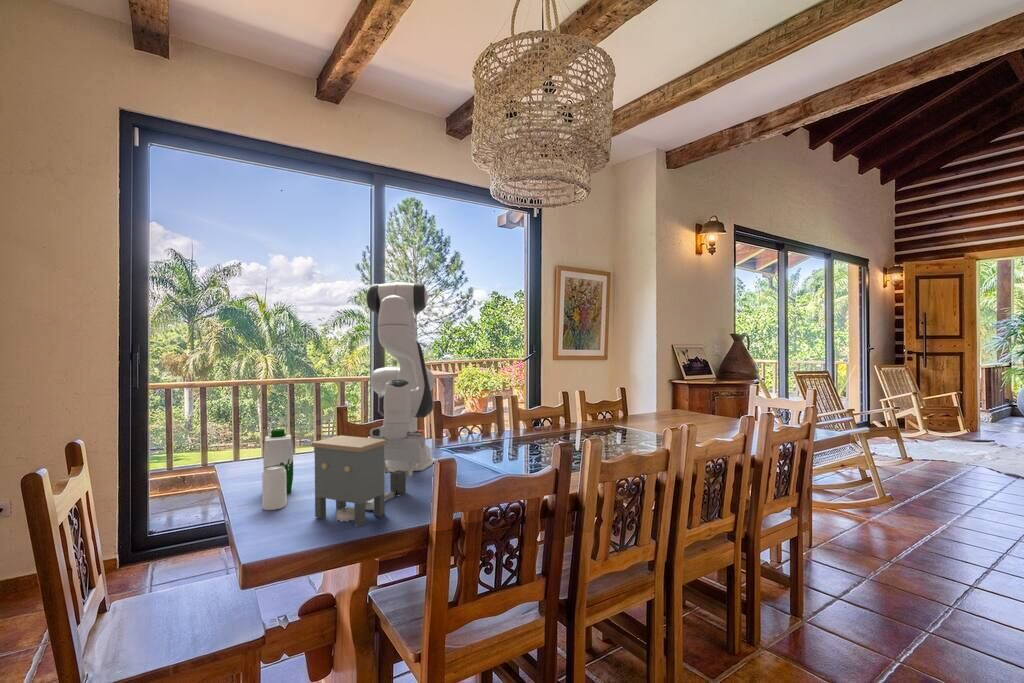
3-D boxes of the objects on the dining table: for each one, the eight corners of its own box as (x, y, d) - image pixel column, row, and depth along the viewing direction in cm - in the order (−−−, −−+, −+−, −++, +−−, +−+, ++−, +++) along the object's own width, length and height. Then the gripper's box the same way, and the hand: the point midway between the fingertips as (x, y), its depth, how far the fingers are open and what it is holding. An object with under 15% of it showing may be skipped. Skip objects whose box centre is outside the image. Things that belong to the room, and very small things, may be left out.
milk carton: (292, 486, 170) (292, 427, 170) (294, 494, 162) (293, 432, 161) (263, 490, 166) (263, 429, 166) (263, 498, 158) (263, 434, 158)
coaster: (348, 512, 145) (348, 505, 145) (363, 516, 142) (363, 509, 142) (331, 519, 139) (331, 511, 139) (346, 523, 136) (346, 516, 136)
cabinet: (340, 506, 150) (340, 435, 150) (387, 514, 143) (386, 439, 143) (311, 518, 140) (311, 442, 139) (360, 527, 133) (359, 447, 133)
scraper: (393, 490, 165) (393, 469, 165) (410, 493, 162) (410, 471, 162) (355, 507, 148) (355, 484, 148) (374, 511, 145) (374, 487, 145)
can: (264, 512, 145) (264, 471, 145) (260, 506, 150) (260, 466, 150) (288, 508, 149) (288, 467, 148) (284, 502, 154) (283, 463, 154)
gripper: (430, 431, 159) (429, 475, 159) (378, 427, 168) (378, 469, 168) (418, 434, 154) (418, 480, 153) (366, 430, 162) (365, 473, 162)
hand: (396, 474), depth 161 cm, fingers open, 8 cm apart
